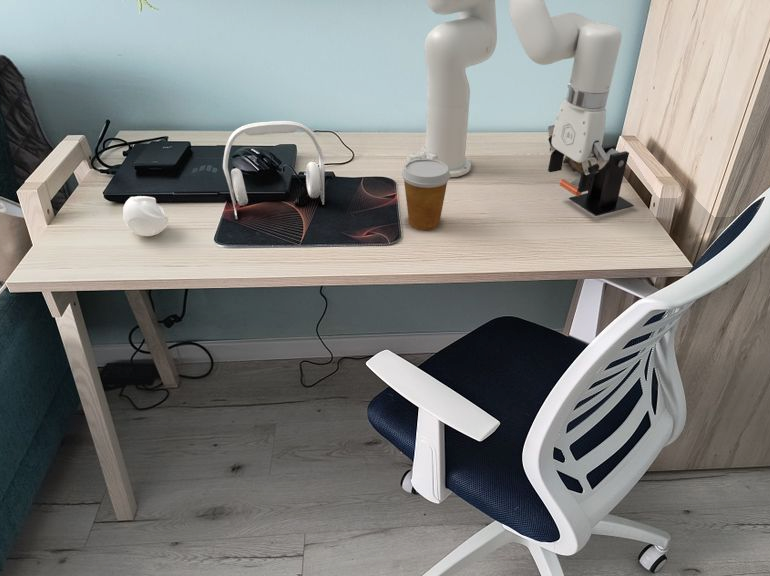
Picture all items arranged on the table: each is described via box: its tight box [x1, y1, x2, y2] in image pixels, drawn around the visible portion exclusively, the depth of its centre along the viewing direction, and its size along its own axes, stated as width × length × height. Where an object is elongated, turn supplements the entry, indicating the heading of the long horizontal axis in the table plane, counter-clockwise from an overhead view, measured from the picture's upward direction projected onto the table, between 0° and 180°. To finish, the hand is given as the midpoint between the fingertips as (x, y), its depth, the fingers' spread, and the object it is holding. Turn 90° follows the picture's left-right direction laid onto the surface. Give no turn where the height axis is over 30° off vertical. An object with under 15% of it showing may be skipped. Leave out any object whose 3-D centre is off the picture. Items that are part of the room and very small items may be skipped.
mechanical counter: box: [563, 155, 591, 175], centre depth 150 cm, size 7×13×10 cm
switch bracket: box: [568, 143, 635, 217], centre depth 137 cm, size 11×9×13 cm
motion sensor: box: [122, 195, 169, 237], centre depth 121 cm, size 8×8×8 cm
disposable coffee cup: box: [401, 159, 451, 231], centre depth 128 cm, size 10×10×12 cm
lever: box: [558, 148, 620, 196], centre depth 133 cm, size 13×6×2 cm, turn 120°
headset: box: [222, 120, 325, 220], centre depth 128 cm, size 20×7×18 cm, turn 109°
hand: (568, 180), depth 132 cm, fingers open, 9 cm apart
